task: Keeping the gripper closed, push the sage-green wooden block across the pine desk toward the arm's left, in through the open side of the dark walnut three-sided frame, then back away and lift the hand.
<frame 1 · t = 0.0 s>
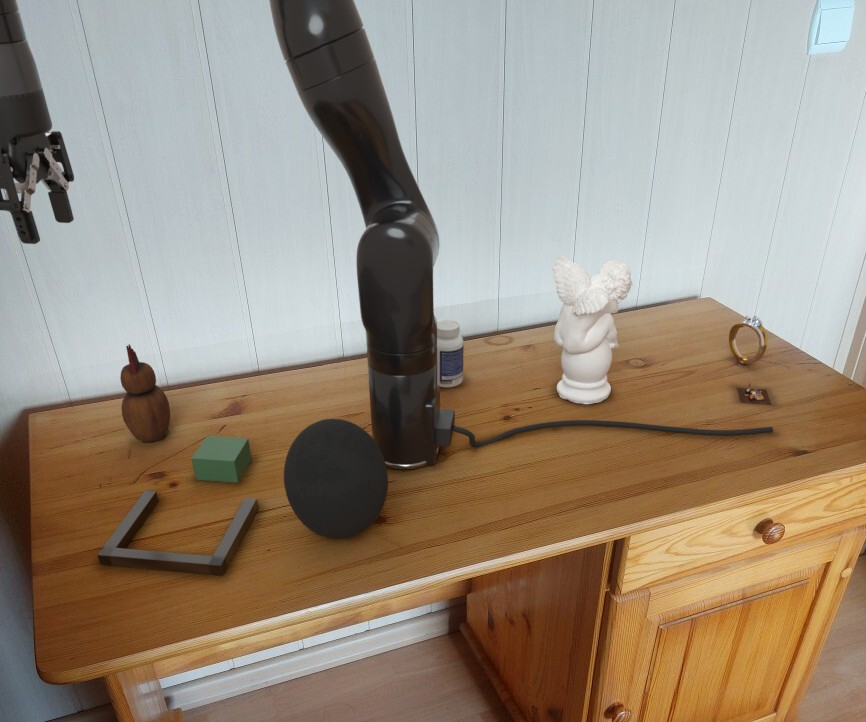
hand: (49, 232, 103), 29 cm above the table, tool pointing down, fingers open, 8 cm apart
diorama: (753, 397, 129), on the table
ring: (741, 363, 139), on the table
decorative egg: (341, 531, 102), on the table
pill bottle: (446, 382, 134), on the table
frame: (185, 532, 102), on the table
cherub figurine: (581, 398, 129), on the table
wooden figurine: (153, 436, 121), on the table
green block: (224, 469, 113), on the table
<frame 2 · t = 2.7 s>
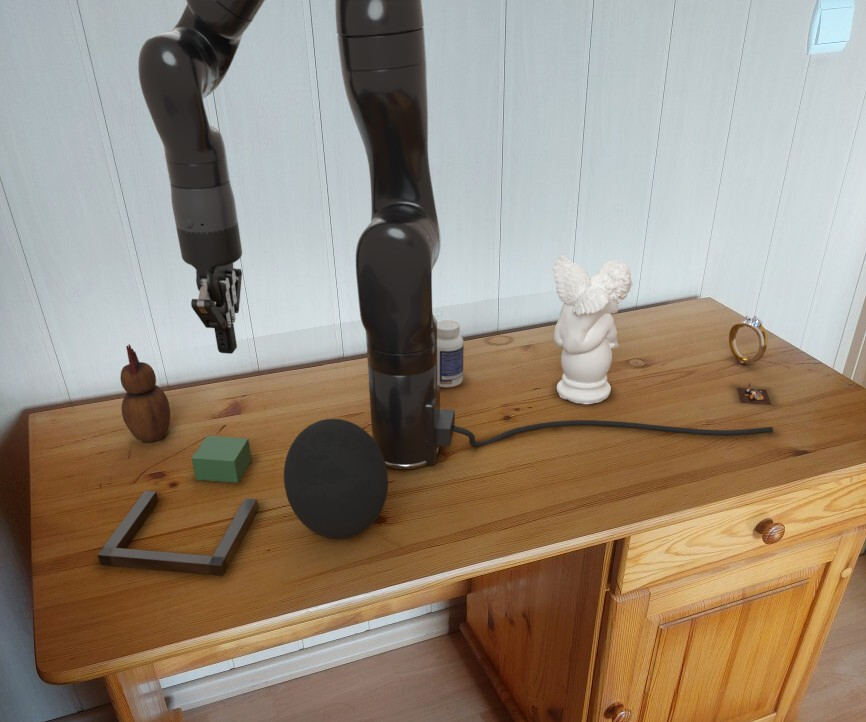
hand: (228, 350, 111), 14 cm above the table, tool pointing down, fingers closed
nothing on the table moved.
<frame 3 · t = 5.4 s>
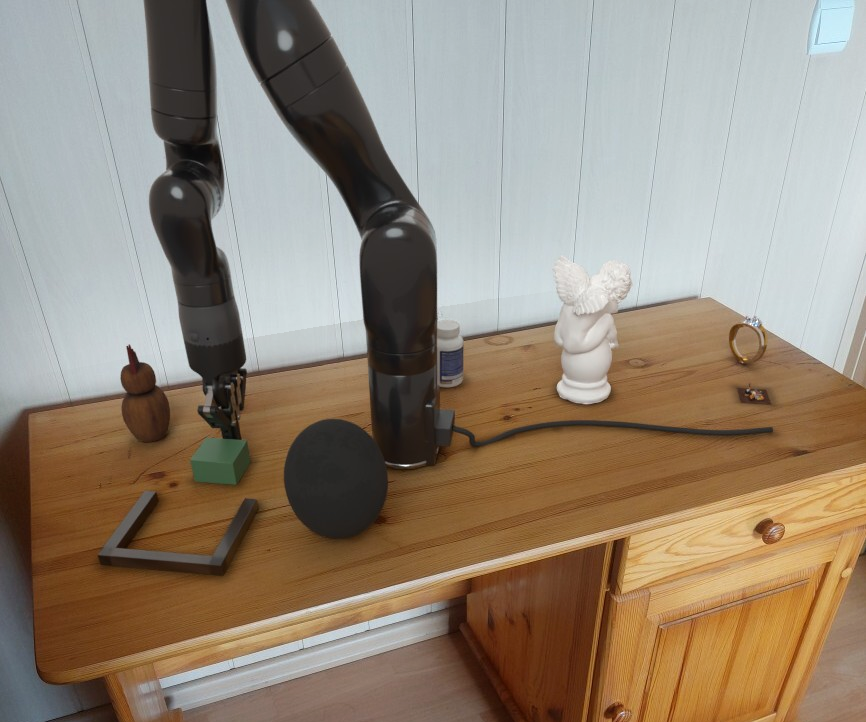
hand: (233, 445, 116), 1 cm above the table, tool pointing down, fingers closed
green block: (223, 471, 113), on the table, touching gripper
everything else where it was.
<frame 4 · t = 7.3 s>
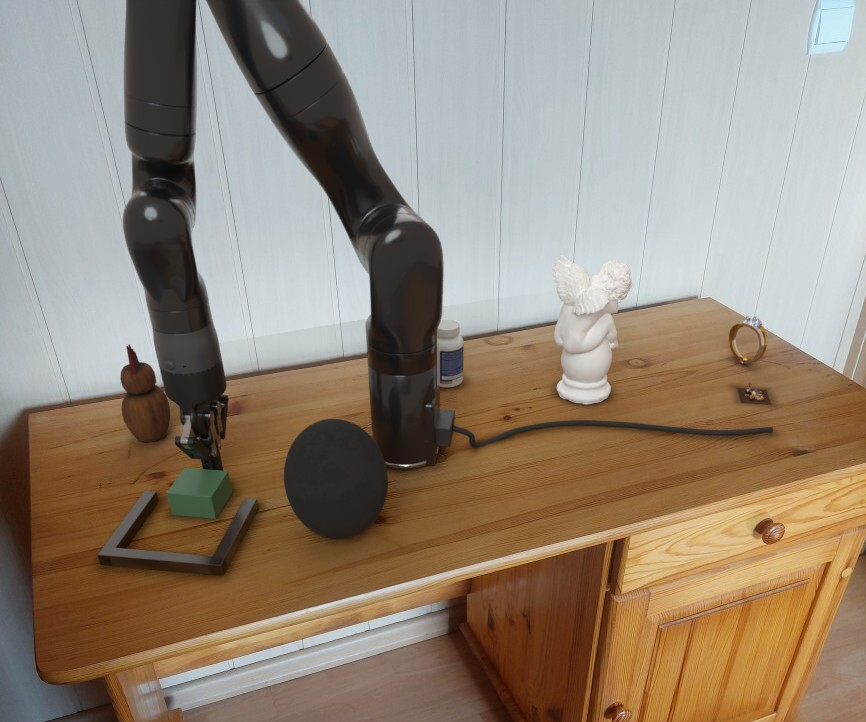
hand: (214, 476, 110), 1 cm above the table, tool pointing down, fingers closed
green block: (202, 503, 107), on the table, touching gripper
everything else where it was.
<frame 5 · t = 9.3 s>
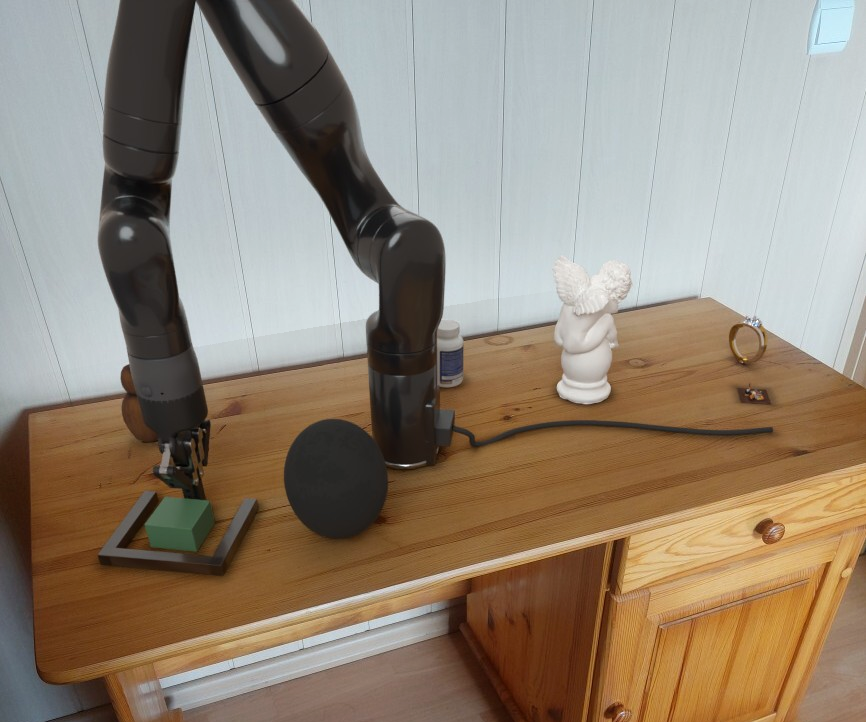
hand: (196, 504, 105), 1 cm above the table, tool pointing down, fingers closed
green block: (183, 535, 102), on the table, touching gripper
everything else where it was.
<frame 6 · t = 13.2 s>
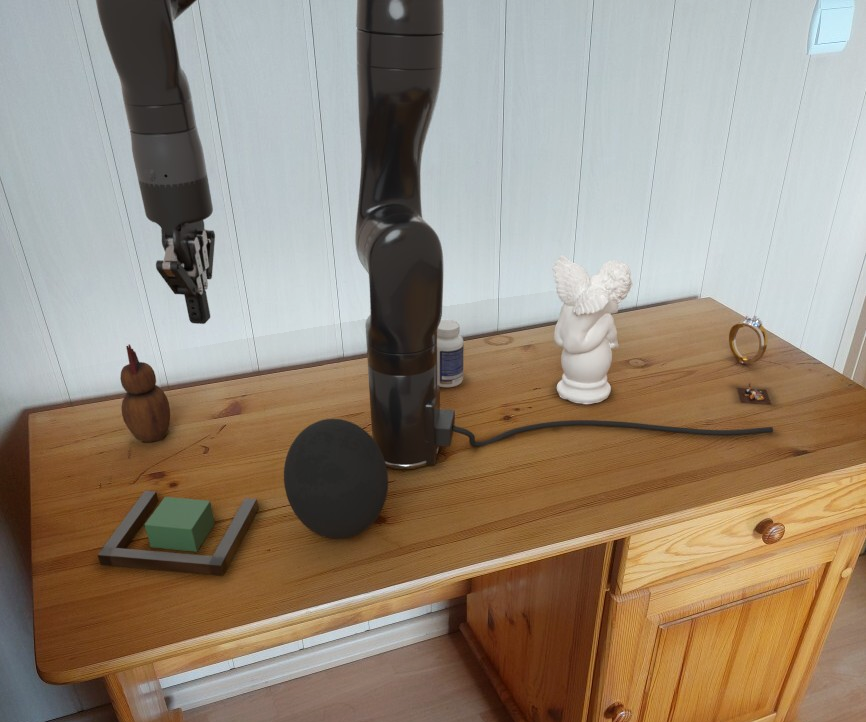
hand: (200, 321, 102), 21 cm above the table, tool pointing down, fingers closed
green block: (183, 535, 102), on the table
everything else where it was.
at the end: green block inside the target area on the frame (0.8 cm from its centre), point 0.0 cm above the frame's base; green block moved 15.1 cm from its start; green block tilted 0° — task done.
